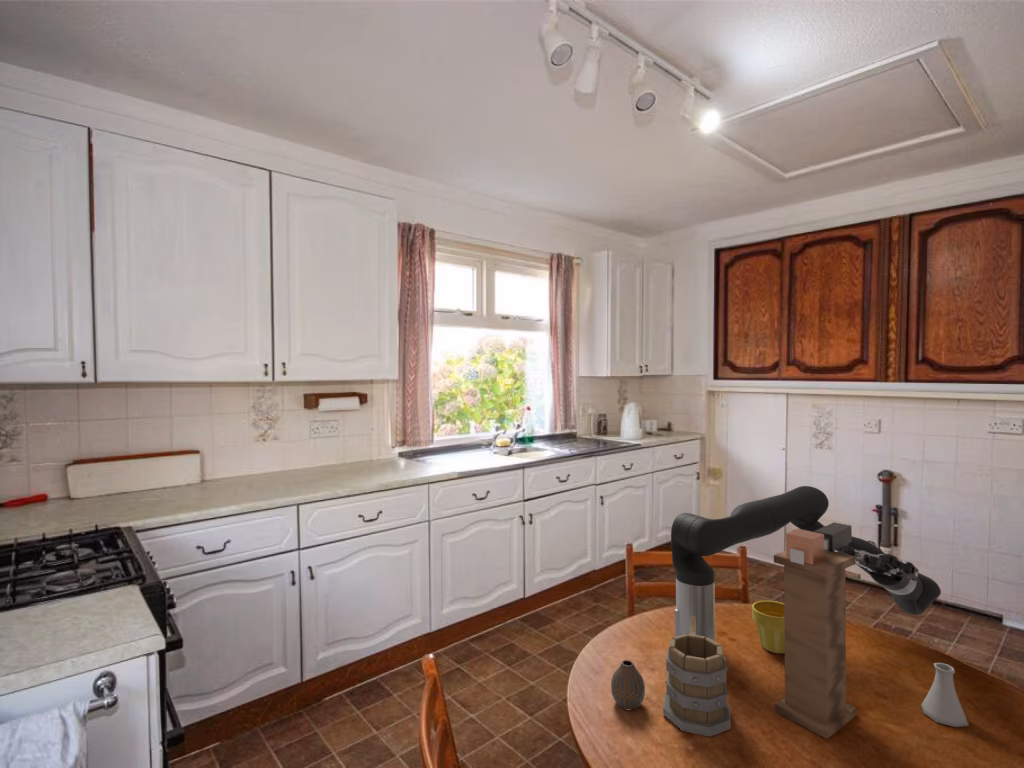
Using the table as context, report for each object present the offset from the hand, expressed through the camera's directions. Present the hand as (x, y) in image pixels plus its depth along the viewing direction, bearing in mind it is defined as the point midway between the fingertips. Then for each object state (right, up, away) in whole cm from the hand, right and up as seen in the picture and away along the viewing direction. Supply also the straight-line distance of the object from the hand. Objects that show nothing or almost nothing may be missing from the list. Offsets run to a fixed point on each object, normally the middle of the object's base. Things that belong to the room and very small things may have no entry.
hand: (866, 553), depth 119 cm
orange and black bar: (-16, +4, -10) cm, 20 cm away
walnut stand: (-19, -28, -13) cm, 36 cm away
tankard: (-41, -29, -9) cm, 51 cm away
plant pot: (-14, -28, +13) cm, 34 cm away
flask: (+6, -28, -14) cm, 32 cm away
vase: (-56, -29, -9) cm, 63 cm away
